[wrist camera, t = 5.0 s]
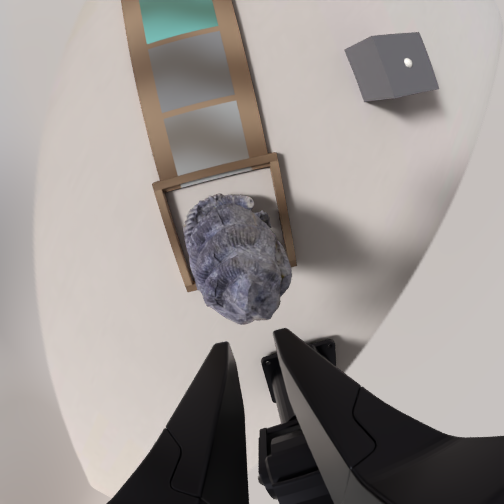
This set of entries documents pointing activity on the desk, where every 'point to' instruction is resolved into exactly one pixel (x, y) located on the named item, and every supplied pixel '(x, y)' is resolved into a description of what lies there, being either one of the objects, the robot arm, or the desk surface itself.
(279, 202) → the frame
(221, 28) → the board
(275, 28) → the desk surface
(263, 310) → the seashell
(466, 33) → the desk surface
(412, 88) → the die
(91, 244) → the desk surface
